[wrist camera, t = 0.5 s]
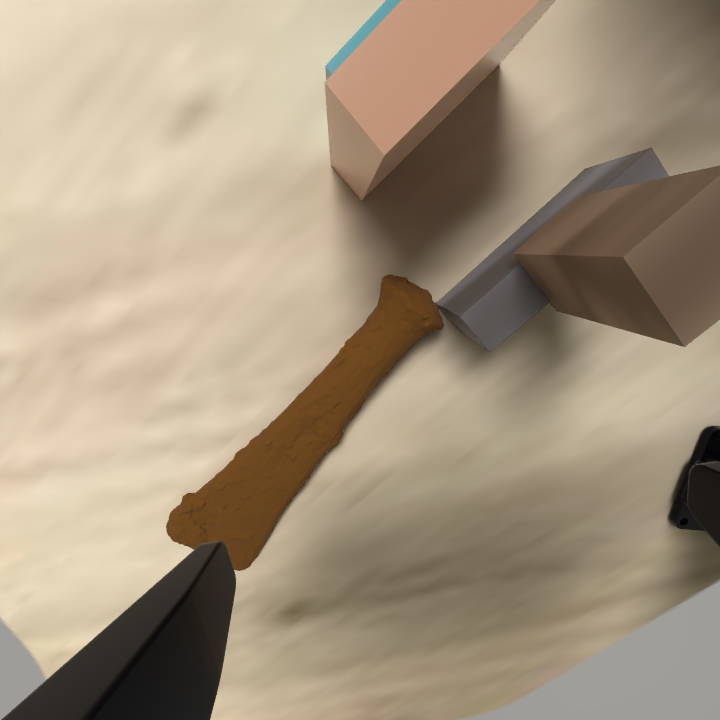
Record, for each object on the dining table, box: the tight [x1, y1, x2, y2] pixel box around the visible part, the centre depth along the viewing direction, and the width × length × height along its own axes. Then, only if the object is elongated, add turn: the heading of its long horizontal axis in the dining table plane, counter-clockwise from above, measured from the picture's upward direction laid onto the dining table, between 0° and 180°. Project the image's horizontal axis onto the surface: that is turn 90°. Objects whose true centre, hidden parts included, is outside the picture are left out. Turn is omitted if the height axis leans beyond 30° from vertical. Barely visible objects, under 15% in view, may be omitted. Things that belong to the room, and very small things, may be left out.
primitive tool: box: [166, 275, 444, 571], centre depth 19 cm, size 19×6×4 cm, turn 144°
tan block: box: [325, 0, 556, 201], centre depth 13 cm, size 2×8×9 cm, turn 133°
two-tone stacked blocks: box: [437, 148, 720, 352], centre depth 14 cm, size 3×9×10 cm, turn 133°
